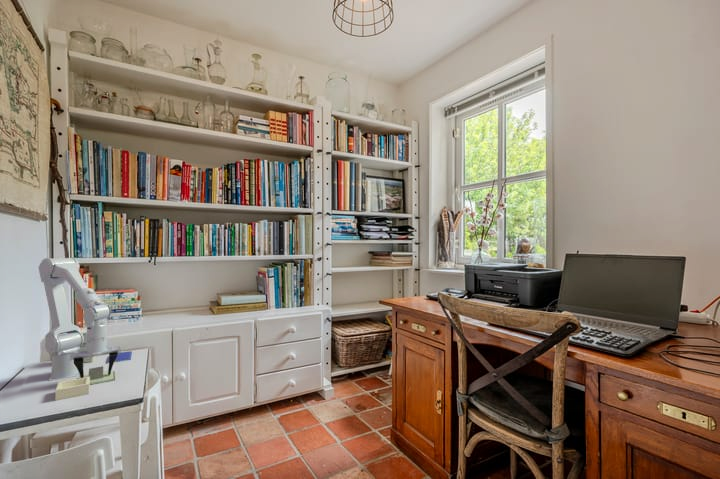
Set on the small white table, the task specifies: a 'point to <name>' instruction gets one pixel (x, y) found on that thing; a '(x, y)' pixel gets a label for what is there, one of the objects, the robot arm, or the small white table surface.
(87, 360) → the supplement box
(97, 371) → the lid
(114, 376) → the mat
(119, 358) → the hard drive
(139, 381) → the small white table surface
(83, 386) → the dish
